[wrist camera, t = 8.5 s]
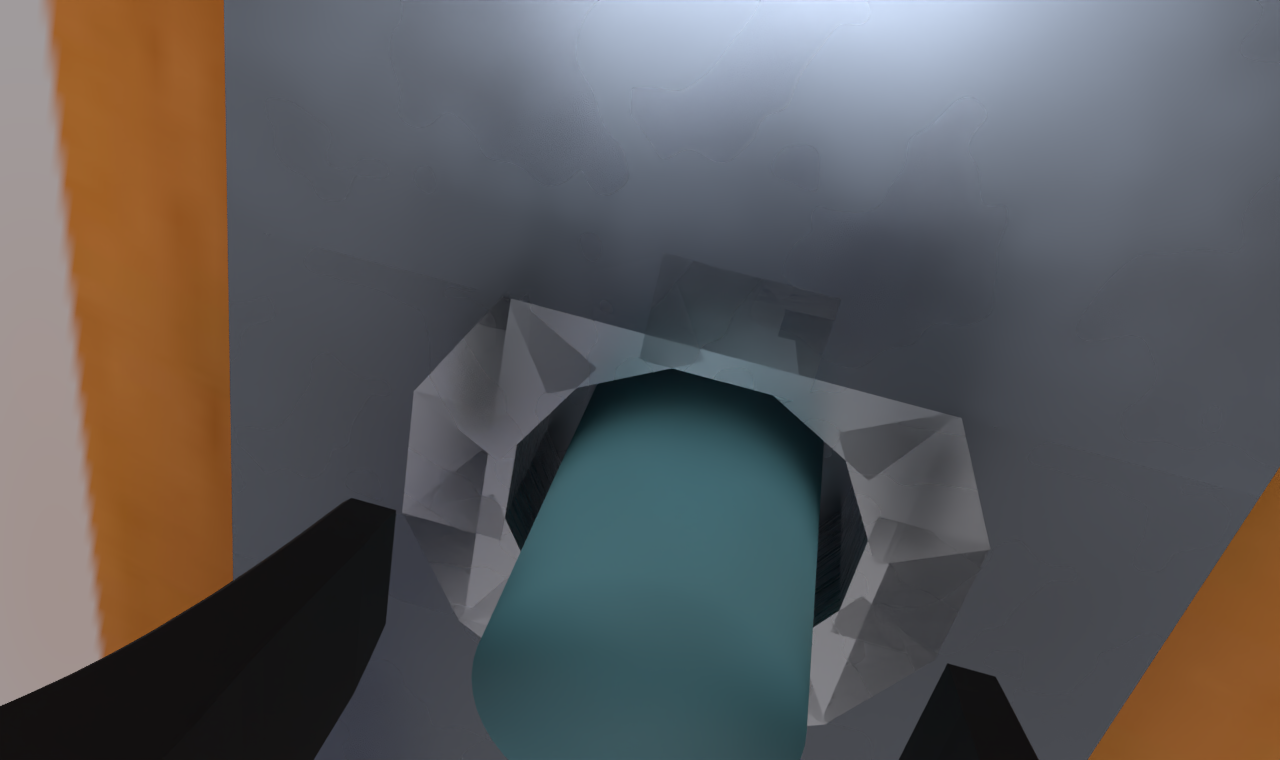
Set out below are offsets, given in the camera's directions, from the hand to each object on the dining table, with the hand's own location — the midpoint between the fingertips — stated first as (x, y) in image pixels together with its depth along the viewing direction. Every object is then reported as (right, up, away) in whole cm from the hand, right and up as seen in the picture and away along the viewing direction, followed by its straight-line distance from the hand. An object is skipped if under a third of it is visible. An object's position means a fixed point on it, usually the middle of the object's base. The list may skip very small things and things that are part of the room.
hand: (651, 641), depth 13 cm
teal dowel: (+1, +2, +4) cm, 5 cm away
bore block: (+1, +3, +5) cm, 5 cm away
